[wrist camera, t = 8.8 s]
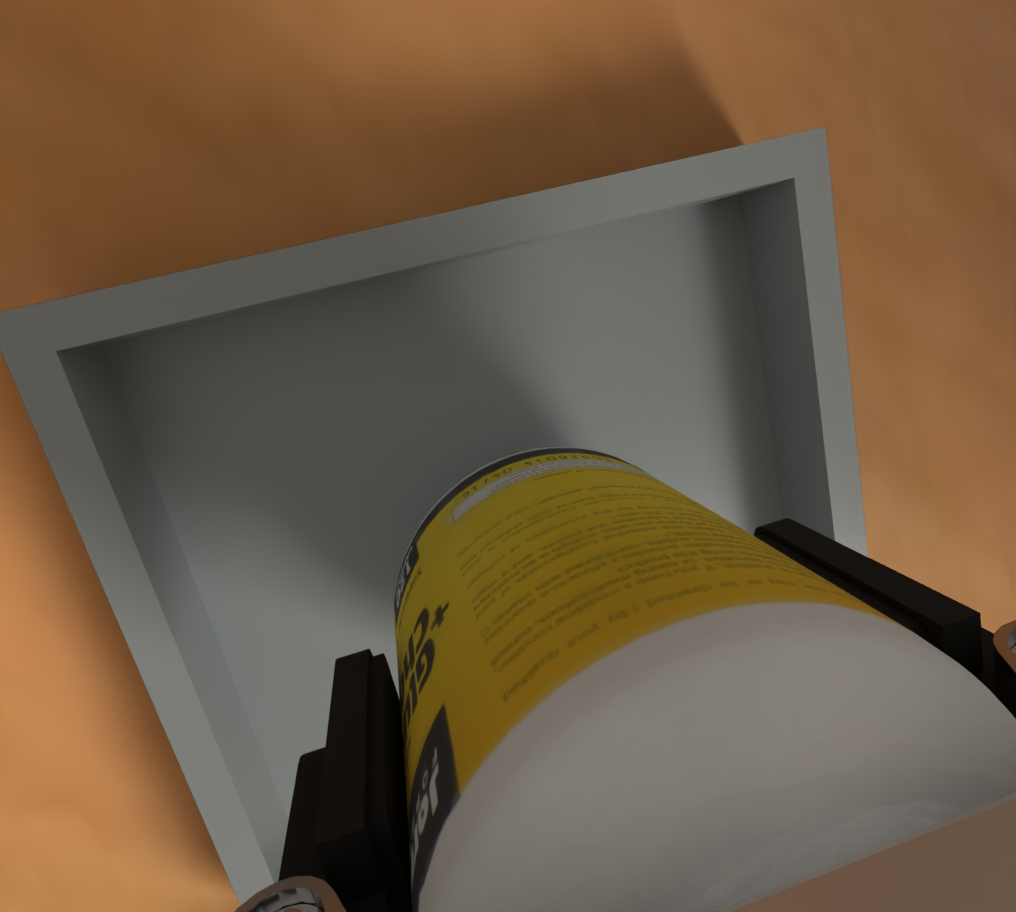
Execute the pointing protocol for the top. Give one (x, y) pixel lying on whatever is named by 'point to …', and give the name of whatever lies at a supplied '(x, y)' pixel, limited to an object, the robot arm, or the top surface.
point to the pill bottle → (655, 702)
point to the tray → (423, 423)
